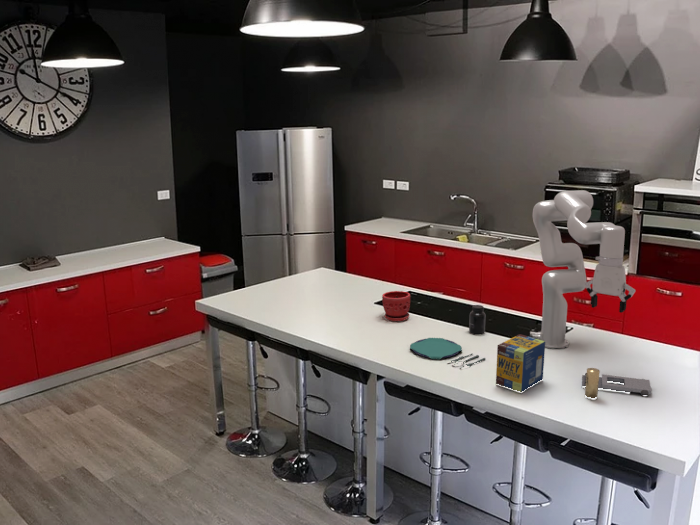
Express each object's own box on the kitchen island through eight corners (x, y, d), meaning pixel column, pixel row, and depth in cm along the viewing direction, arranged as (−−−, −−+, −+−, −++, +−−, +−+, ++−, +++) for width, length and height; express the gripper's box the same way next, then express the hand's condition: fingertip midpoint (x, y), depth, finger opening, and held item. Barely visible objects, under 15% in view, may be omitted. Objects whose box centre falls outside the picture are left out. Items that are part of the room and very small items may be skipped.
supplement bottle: (467, 333, 274) (467, 307, 271) (471, 328, 279) (472, 303, 277) (482, 336, 270) (483, 309, 268) (486, 331, 276) (487, 305, 273)
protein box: (495, 385, 223) (496, 344, 219) (518, 372, 233) (520, 333, 230) (521, 394, 216) (523, 352, 212) (543, 380, 226) (546, 340, 222)
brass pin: (584, 399, 211) (586, 371, 209) (584, 394, 215) (586, 367, 213) (597, 400, 210) (599, 373, 208) (597, 395, 214) (599, 368, 211)
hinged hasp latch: (581, 388, 219) (582, 382, 219) (582, 377, 228) (582, 371, 227) (650, 397, 212) (651, 391, 211) (648, 385, 220) (649, 379, 220)
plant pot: (410, 314, 300) (410, 290, 298) (410, 323, 288) (410, 298, 285) (383, 313, 302) (382, 289, 299) (381, 322, 289) (381, 298, 286)
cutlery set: (435, 338, 269) (435, 333, 268) (489, 361, 246) (490, 355, 245) (401, 350, 257) (401, 345, 257) (454, 375, 234) (454, 369, 234)
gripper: (581, 260, 219) (579, 307, 222) (632, 266, 207) (629, 316, 211) (590, 256, 224) (588, 302, 228) (640, 263, 212) (637, 311, 216)
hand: (607, 309), depth 219 cm, fingers open, 9 cm apart
